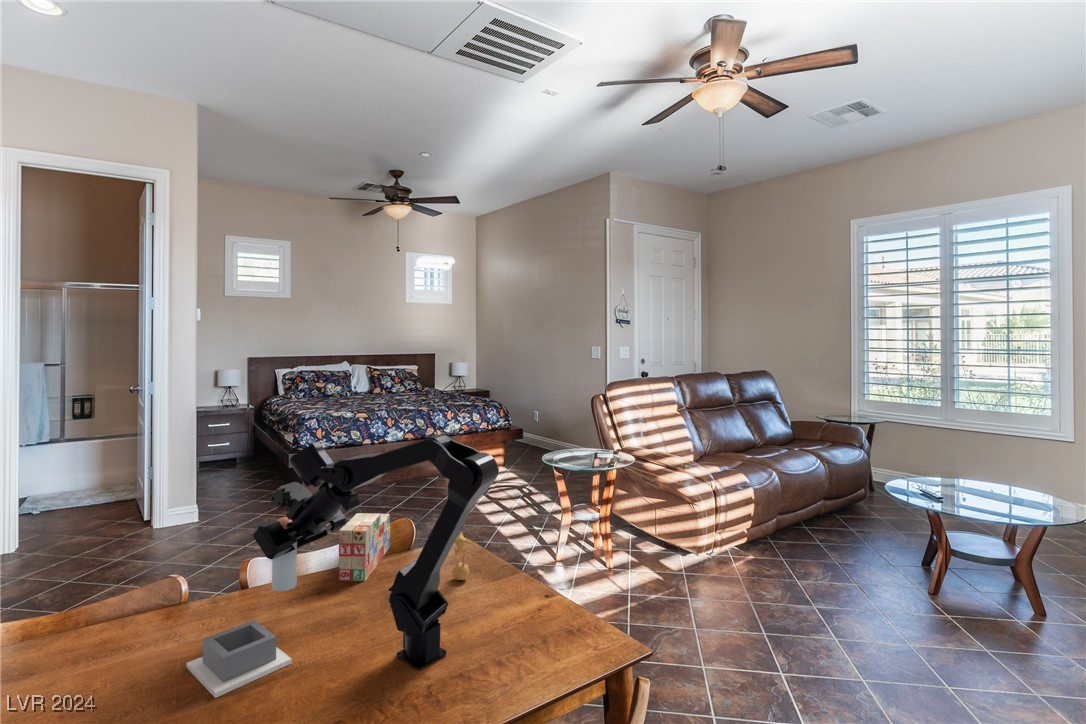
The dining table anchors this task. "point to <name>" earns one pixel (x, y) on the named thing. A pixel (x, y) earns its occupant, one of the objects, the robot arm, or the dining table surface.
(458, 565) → the figurine
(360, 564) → the stack of blocks
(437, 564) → the robot arm
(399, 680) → the dining table surface
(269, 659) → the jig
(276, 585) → the copper-capped grey cylinder
